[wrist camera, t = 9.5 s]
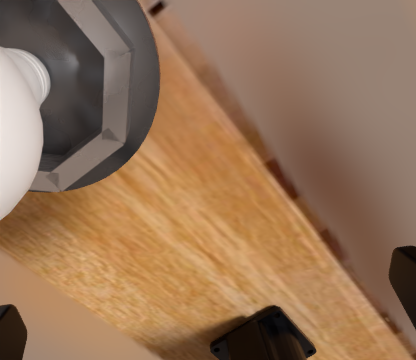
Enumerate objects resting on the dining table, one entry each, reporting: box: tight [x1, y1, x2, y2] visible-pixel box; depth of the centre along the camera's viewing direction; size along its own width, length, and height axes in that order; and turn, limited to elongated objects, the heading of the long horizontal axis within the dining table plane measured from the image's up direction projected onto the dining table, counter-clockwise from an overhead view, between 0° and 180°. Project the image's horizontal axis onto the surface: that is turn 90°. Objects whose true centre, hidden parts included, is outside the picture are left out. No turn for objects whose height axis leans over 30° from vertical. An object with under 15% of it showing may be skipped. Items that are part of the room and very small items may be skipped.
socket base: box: [0, 0, 160, 192], centre depth 15 cm, size 12×12×4 cm
